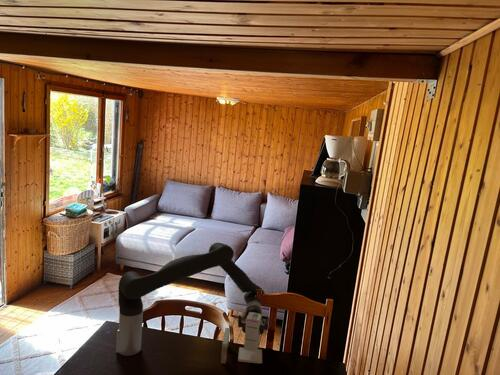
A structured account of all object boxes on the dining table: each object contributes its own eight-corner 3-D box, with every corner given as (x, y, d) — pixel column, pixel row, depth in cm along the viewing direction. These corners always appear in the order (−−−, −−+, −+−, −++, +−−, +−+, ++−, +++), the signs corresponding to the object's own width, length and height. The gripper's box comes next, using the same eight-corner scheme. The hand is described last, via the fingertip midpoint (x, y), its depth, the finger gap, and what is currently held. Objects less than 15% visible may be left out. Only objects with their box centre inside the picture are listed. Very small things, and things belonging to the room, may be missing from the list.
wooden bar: (222, 347, 146) (222, 343, 146) (225, 330, 158) (225, 327, 158) (226, 347, 146) (227, 344, 146) (229, 331, 158) (229, 328, 158)
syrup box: (256, 352, 149) (260, 320, 146) (243, 349, 150) (246, 317, 148) (259, 344, 154) (262, 313, 152) (246, 342, 155) (248, 311, 153)
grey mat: (238, 361, 149) (238, 359, 149) (239, 349, 157) (239, 347, 157) (261, 363, 149) (262, 361, 149) (261, 351, 157) (262, 349, 157)
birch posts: (220, 363, 147) (222, 347, 146) (223, 345, 159) (225, 330, 158) (225, 363, 146) (226, 347, 146) (228, 345, 159) (229, 331, 158)
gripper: (238, 303, 164) (236, 321, 148) (269, 306, 164) (271, 325, 148) (237, 318, 165) (235, 338, 149) (268, 321, 165) (269, 341, 149)
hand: (252, 331), depth 148 cm, fingers closed on syrup box, 6 cm apart
